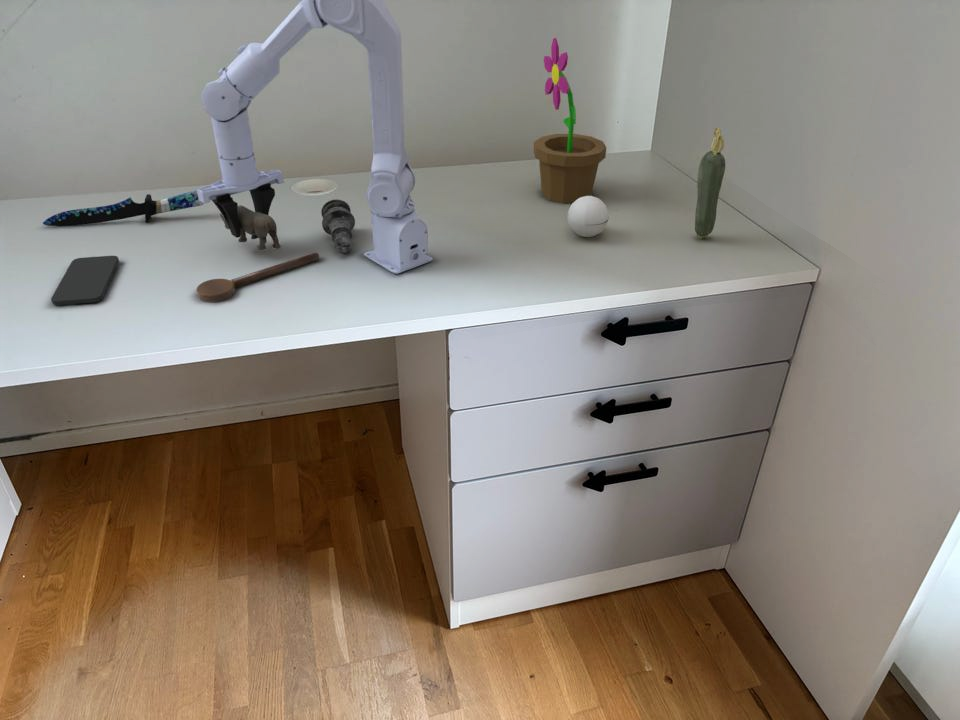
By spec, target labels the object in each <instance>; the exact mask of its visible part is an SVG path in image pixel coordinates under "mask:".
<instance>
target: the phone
mask: <svg viewBox="0 0 960 720" xmlns="http://www.w3.org/2000/svg"><path fill="white" fill-rule="evenodd" d="M119 263H120V260H119V256H117V255H102V256H87V257H86V256H85V257H77V258H74V259H73V260H72V261H71V262H70V264H69V266H67V269H66V271H65V273H64V275H63V276H62V278H61V280H60V281H59V283H58V285H57V287H56V289H55V291H54V293H53V294H52V296H51V298H50V301H51V303H52V305H54V306H64V305H66V306H67V305H77V304H78V305H79V304H89V303H90V304H91V303H97V302H100V301H101V300H103V298H104V297H105V294H106V291H107V290H108V287H109V285H110V283H111V281H112V278H113V276H114V274H115V273H116V270H117V267H118V265H119Z"/></svg>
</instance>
